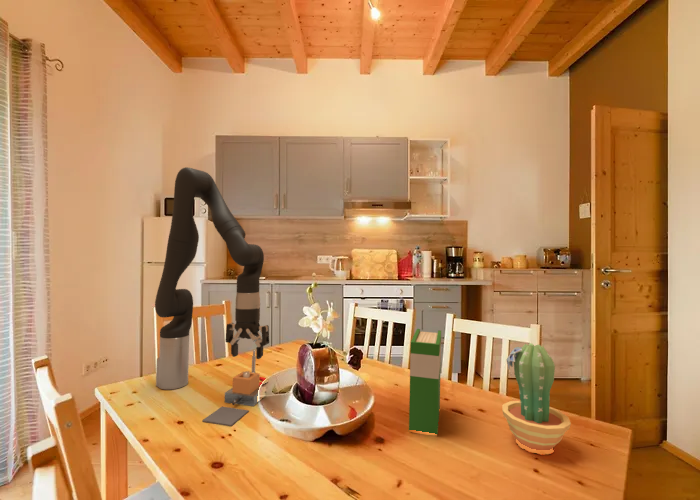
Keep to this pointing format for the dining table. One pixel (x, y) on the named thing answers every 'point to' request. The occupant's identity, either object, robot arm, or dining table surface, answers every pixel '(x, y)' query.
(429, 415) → the hardback book
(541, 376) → the potted cactus
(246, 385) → the link
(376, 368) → the dining table surface
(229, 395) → the vise block
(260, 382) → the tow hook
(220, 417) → the pad
